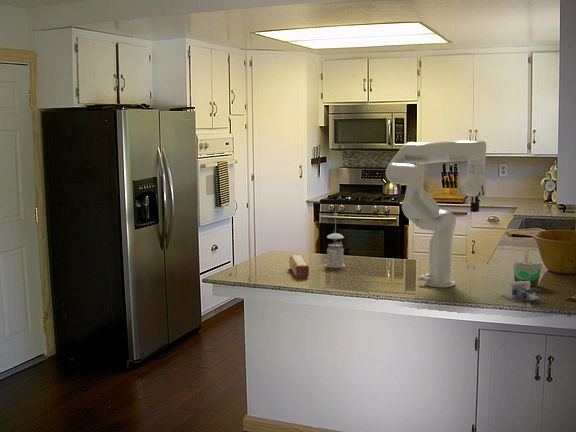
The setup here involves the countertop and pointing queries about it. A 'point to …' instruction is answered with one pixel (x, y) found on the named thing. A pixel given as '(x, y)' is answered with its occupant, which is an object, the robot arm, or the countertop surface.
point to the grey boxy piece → (523, 289)
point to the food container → (527, 273)
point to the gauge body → (518, 297)
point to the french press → (335, 250)
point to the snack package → (299, 266)
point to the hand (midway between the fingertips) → (474, 211)
